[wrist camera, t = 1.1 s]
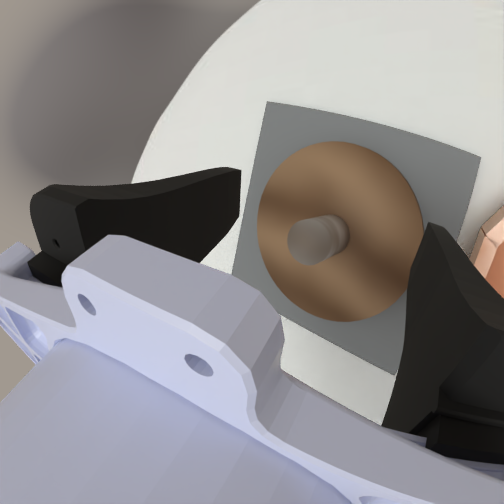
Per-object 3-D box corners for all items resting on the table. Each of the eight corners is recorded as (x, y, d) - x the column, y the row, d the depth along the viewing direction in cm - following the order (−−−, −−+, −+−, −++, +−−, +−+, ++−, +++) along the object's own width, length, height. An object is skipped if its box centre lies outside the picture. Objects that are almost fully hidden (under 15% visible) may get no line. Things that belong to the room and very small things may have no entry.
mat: (395, 373, 23) (394, 375, 23) (232, 284, 33) (229, 285, 32) (480, 157, 17) (480, 157, 17) (269, 102, 26) (266, 101, 26)
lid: (383, 346, 23) (364, 376, 20) (248, 276, 31) (213, 289, 27) (448, 174, 18) (444, 170, 15) (281, 126, 26) (245, 118, 22)
